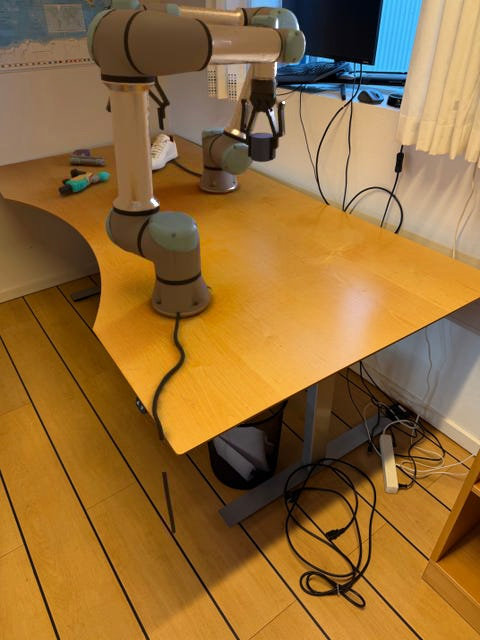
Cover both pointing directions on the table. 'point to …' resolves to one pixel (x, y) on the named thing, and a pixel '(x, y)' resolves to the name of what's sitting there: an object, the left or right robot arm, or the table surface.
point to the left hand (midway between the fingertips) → (261, 157)
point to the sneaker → (163, 151)
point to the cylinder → (261, 147)
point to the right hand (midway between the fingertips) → (141, 131)
